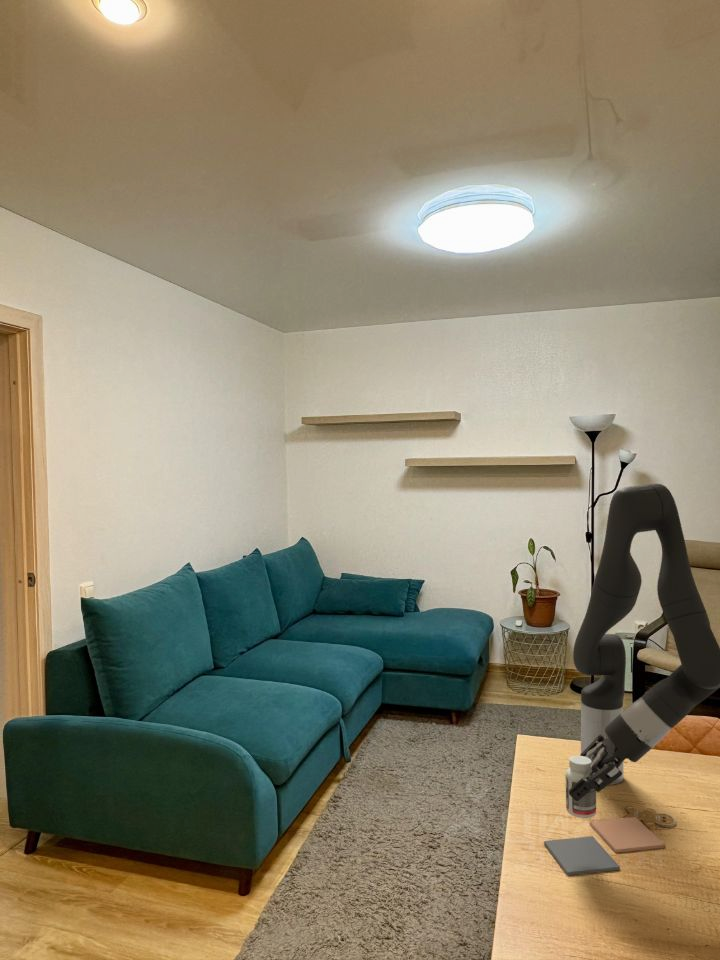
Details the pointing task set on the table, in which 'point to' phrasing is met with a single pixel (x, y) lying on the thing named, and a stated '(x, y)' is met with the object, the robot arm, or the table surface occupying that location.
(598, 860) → the slate coaster
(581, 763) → the pill bottle
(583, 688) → the robot arm
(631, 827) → the terracotta coaster
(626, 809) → the cookie
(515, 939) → the table surface
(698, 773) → the table surface
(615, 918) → the table surface
